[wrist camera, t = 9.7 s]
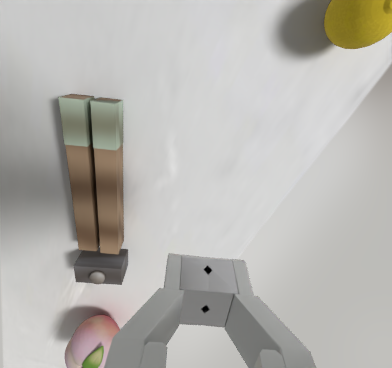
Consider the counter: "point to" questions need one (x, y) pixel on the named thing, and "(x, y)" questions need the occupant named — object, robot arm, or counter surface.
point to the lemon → (358, 22)
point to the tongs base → (87, 195)
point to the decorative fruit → (91, 343)
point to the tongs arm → (109, 171)
